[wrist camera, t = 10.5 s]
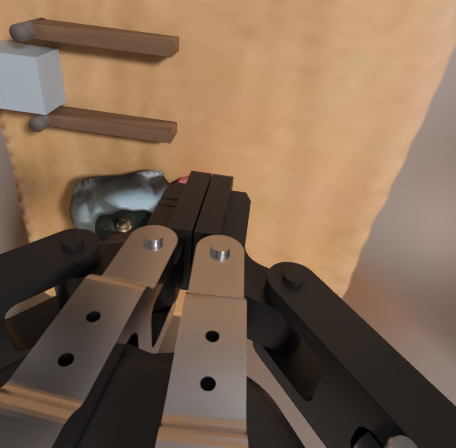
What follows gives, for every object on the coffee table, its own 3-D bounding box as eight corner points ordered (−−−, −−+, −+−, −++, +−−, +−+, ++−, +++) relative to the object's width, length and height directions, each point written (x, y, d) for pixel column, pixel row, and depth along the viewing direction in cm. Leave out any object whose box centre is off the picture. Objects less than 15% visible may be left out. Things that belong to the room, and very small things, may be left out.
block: (-1, 39, 43) (-31, 48, 39) (59, 48, 43) (35, 57, 39) (11, 93, 46) (-15, 106, 42) (66, 101, 46) (45, 115, 42)
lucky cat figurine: (187, 167, 49) (196, 266, 42) (182, 215, 59) (189, 301, 53) (64, 167, 46) (51, 273, 39) (81, 218, 56) (74, 309, 50)
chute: (35, 17, 41) (7, 23, 37) (178, 36, 40) (167, 44, 36) (52, 116, 47) (30, 131, 43) (176, 134, 47) (166, 150, 43)
